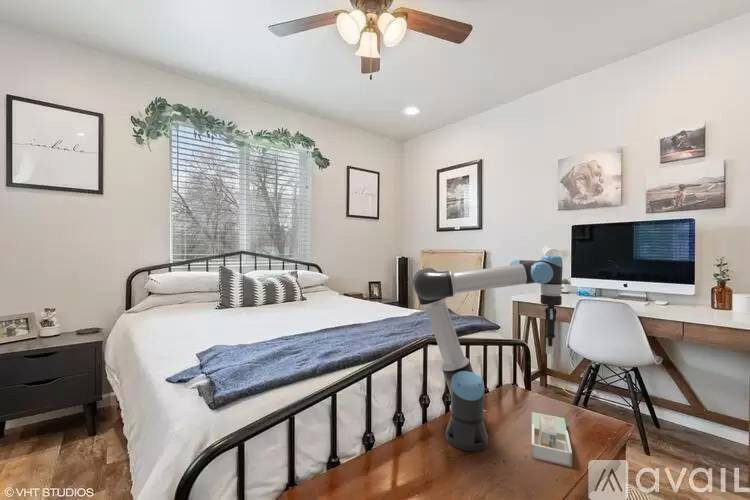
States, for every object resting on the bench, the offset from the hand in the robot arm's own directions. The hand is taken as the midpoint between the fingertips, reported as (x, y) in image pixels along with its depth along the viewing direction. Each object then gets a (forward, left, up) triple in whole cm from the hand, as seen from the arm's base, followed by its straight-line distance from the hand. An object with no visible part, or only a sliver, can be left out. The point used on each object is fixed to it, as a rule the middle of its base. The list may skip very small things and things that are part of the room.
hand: (549, 353), depth 140 cm
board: (0, -3, -29) cm, 30 cm away
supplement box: (-1, -10, -25) cm, 27 cm away
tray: (0, -18, -29) cm, 34 cm away
